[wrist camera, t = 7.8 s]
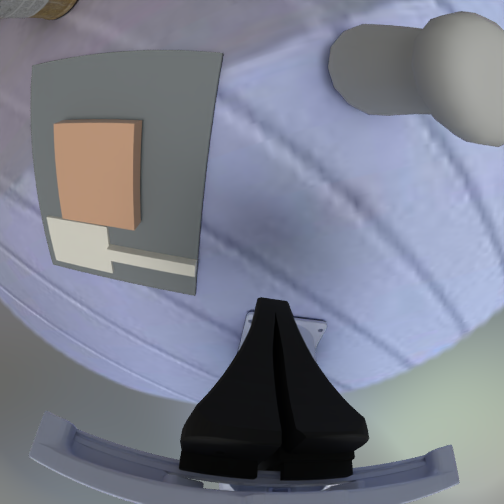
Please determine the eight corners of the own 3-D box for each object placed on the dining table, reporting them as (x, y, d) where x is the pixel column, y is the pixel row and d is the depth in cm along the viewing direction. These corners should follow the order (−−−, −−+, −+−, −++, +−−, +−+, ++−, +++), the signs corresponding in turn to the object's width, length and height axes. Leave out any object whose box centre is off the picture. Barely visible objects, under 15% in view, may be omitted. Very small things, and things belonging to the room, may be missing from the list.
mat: (195, 292, 26) (194, 295, 26) (54, 262, 25) (52, 264, 25) (223, 53, 15) (222, 53, 14) (35, 65, 14) (32, 65, 14)
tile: (134, 230, 20) (62, 218, 20) (142, 220, 22) (72, 209, 21) (134, 123, 16) (53, 123, 15) (143, 119, 17) (65, 119, 17)
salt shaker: (327, 20, 13) (425, -54, 2) (407, 45, 13) (557, 48, 2) (315, 100, 16) (401, 147, 6) (394, 120, 16) (529, 199, 6)
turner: (198, 240, 22) (196, 246, 22) (195, 287, 25) (193, 293, 25) (48, 215, 22) (43, 219, 21) (57, 258, 24) (53, 262, 24)
